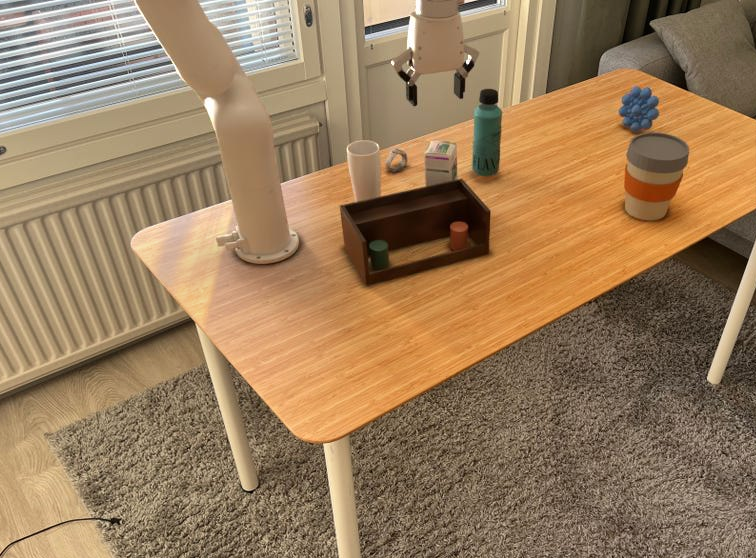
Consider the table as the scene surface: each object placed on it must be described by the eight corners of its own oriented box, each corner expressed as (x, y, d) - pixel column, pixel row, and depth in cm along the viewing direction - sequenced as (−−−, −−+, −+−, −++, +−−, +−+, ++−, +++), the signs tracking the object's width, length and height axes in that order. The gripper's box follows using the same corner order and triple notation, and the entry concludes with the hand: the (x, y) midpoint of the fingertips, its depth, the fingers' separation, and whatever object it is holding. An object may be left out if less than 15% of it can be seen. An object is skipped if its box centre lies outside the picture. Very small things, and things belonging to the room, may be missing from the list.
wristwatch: (410, 166, 167) (409, 147, 164) (392, 176, 164) (391, 156, 160) (400, 161, 169) (399, 142, 165) (381, 171, 165) (380, 151, 162)
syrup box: (452, 217, 152) (452, 155, 142) (425, 214, 153) (423, 152, 143) (457, 203, 156) (458, 142, 146) (431, 200, 157) (430, 139, 147)
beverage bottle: (467, 179, 163) (468, 94, 150) (477, 166, 168) (480, 82, 154) (493, 185, 162) (497, 100, 148) (503, 171, 166) (508, 88, 152)
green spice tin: (374, 273, 137) (372, 252, 134) (368, 263, 140) (366, 242, 136) (392, 269, 138) (390, 248, 135) (385, 259, 141) (384, 238, 137)
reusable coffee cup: (685, 209, 156) (702, 145, 145) (654, 232, 149) (670, 167, 139) (637, 188, 162) (650, 126, 151) (605, 209, 155) (616, 145, 145)
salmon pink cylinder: (454, 253, 142) (454, 233, 139) (447, 243, 145) (447, 223, 141) (470, 249, 144) (471, 229, 140) (463, 239, 146) (463, 219, 143)
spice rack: (366, 285, 134) (361, 241, 128) (344, 248, 143) (339, 205, 136) (488, 253, 143) (490, 210, 136) (461, 220, 151) (461, 178, 144)
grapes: (663, 135, 181) (673, 88, 173) (646, 143, 178) (656, 96, 169) (627, 119, 187) (635, 74, 179) (611, 126, 184) (618, 81, 176)
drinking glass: (390, 208, 154) (386, 144, 144) (374, 223, 150) (369, 158, 139) (363, 200, 156) (357, 137, 146) (347, 215, 152) (339, 151, 141)
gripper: (471, -6, 131) (468, 86, 143) (383, 4, 125) (387, 98, 137) (489, 7, 126) (484, 101, 138) (398, 17, 120) (400, 114, 132)
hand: (435, 99), depth 138 cm, fingers open, 9 cm apart
